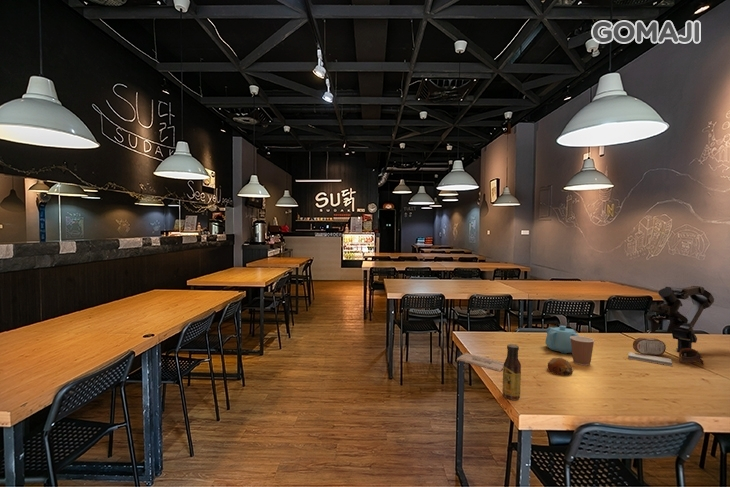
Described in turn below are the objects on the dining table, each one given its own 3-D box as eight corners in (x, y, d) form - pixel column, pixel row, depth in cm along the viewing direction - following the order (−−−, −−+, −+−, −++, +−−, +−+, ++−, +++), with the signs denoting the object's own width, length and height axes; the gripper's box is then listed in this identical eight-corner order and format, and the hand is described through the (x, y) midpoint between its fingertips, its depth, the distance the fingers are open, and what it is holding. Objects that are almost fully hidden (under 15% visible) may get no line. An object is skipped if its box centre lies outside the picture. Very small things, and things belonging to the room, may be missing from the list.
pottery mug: (711, 368, 167) (706, 354, 165) (690, 375, 168) (686, 361, 167) (690, 353, 178) (685, 340, 176) (671, 360, 180) (666, 347, 178)
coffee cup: (592, 361, 173) (592, 337, 173) (596, 368, 164) (596, 342, 164) (568, 358, 177) (568, 334, 177) (570, 364, 168) (571, 339, 168)
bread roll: (570, 378, 160) (569, 360, 163) (575, 376, 151) (574, 357, 154) (546, 375, 163) (545, 358, 167) (550, 373, 155) (549, 354, 158)
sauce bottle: (499, 393, 135) (500, 342, 135) (514, 393, 135) (515, 342, 135) (507, 401, 128) (508, 348, 128) (524, 401, 129) (524, 347, 129)
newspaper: (510, 366, 167) (510, 361, 167) (500, 375, 158) (500, 370, 158) (466, 354, 182) (466, 350, 182) (455, 363, 174) (455, 358, 173)
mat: (629, 352, 187) (629, 350, 187) (671, 359, 176) (671, 356, 176) (628, 358, 178) (628, 355, 178) (672, 366, 167) (672, 363, 167)
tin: (662, 354, 184) (662, 338, 185) (667, 356, 181) (667, 340, 182) (632, 352, 186) (632, 336, 186) (636, 354, 183) (636, 338, 183)
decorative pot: (545, 352, 187) (545, 327, 187) (545, 344, 201) (546, 321, 201) (580, 357, 179) (581, 331, 179) (578, 349, 193) (579, 324, 193)
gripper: (643, 300, 194) (631, 323, 190) (674, 296, 176) (662, 322, 172) (660, 312, 193) (649, 335, 189) (693, 310, 175) (682, 335, 171)
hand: (660, 332), depth 181 cm, fingers open, 9 cm apart
